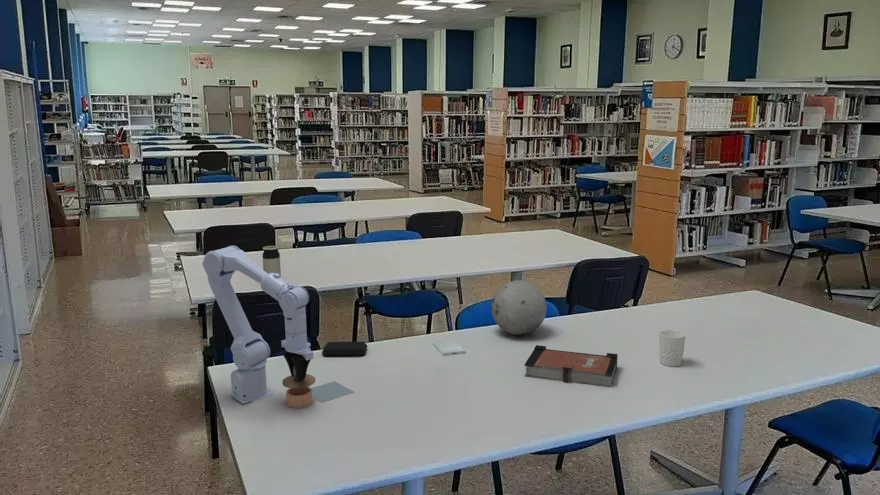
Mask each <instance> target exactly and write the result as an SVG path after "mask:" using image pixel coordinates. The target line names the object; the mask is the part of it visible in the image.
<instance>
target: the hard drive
mask: <svg viewBox="0 0 880 495" xmlns="http://www.w3.org/2000/svg"><path fill="white" fill-rule="evenodd" d="M432 346H433V347H434V348H435V349H436V351H438V352H439V353H440V354H441V356H442V357H447V356H455V355H465V354H467V352H466V350H465V349H464V348H463V347H462V345H460V343H458V342H457V341H456V340H455V339H445V340H437V341H433V342H432Z"/></svg>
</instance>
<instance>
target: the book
mask: <svg viewBox="0 0 880 495" xmlns="http://www.w3.org/2000/svg"><path fill="white" fill-rule="evenodd" d="M524 367H525V373H524V377H527V378H534V379H541V380H551V381H558V382H564V383H574V384H582V385H590V386H597V387H604V388H605V387H606V388H612V386H613V382H614V378H615V376H616V373H617V369H618V354H617V353H611V352H606V355H602V354H592V353H584V352H577V351H576V352H575V351H568V350H558V349H549V348H547V346H545V345H538V344H537V345H535V346H534V349H533V350H532V352H531V354H530V355H529V357H528V359H526V361H525V363H524Z"/></svg>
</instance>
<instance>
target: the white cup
mask: <svg viewBox="0 0 880 495" xmlns="http://www.w3.org/2000/svg"><path fill="white" fill-rule="evenodd" d="M686 336H687V335H686V333H685V332H683V331H679V330H674V329H664V330H660V331H659V363H660V364H661V365H663V366H665V367H671V368H672V367H673V368H676V367H680V366H682V364H683V357H684V352H685V351H684V350H685V345H686V344H685V342H686Z"/></svg>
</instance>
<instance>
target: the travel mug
mask: <svg viewBox="0 0 880 495" xmlns="http://www.w3.org/2000/svg"><path fill="white" fill-rule="evenodd" d="M279 248H280V247H279V246H276V245H266V246H264V247H262V250H263V253H262V268H263V270H264V271H265V272H267V273H268V274H270V273H275V274H276V273H278V274H279V275H280V277H281V278H282V272H281V269H282V268H281V255H280V252H279Z"/></svg>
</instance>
